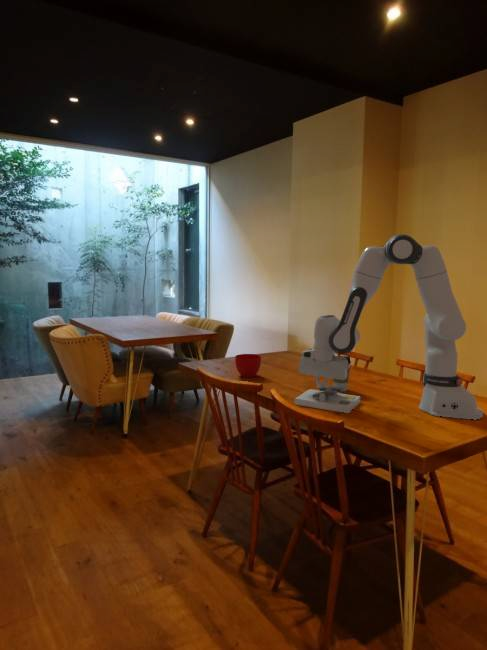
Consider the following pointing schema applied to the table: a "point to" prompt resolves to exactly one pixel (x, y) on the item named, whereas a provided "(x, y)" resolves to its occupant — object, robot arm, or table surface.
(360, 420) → the table surface
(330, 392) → the rocker front
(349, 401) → the switch unit
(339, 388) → the rocker back
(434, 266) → the robot arm
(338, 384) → the coffee cup
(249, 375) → the ceramic cup
